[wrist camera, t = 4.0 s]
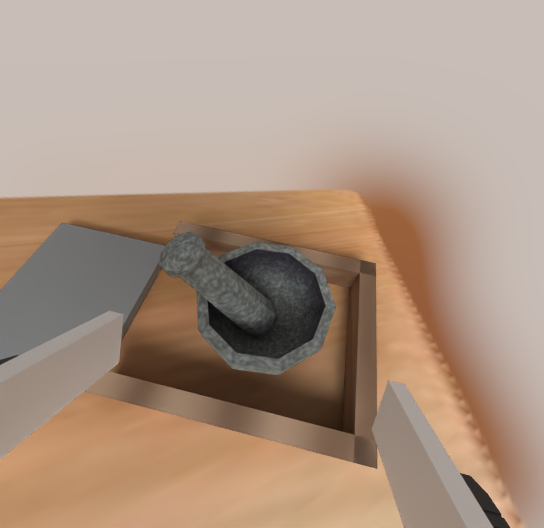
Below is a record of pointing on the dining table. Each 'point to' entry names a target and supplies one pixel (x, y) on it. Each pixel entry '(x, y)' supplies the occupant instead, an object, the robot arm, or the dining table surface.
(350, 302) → the rectangular wooden frame
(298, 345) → the mortar and pestle
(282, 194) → the dining table surface
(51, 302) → the slate mat
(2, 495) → the dining table surface
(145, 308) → the dining table surface
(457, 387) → the dining table surface
